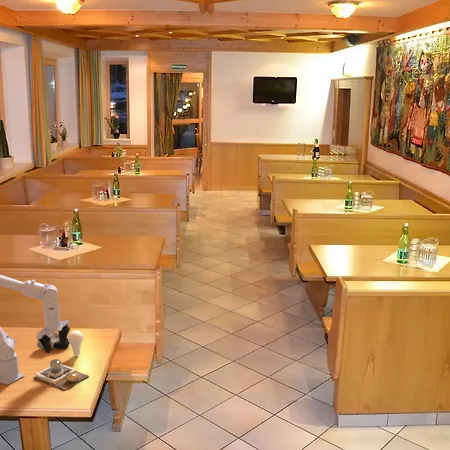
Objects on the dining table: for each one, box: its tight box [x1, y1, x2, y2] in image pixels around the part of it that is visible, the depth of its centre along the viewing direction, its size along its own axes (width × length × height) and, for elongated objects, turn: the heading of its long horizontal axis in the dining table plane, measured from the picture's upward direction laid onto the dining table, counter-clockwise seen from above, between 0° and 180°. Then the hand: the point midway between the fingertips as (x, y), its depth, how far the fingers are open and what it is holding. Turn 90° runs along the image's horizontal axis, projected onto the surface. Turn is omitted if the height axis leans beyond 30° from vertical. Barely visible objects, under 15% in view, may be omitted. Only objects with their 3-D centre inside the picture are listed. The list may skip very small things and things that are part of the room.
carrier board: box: [33, 370, 90, 391], centre depth 220 cm, size 18×12×1 cm
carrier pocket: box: [35, 363, 78, 384], centre depth 222 cm, size 11×11×1 cm
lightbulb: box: [67, 330, 84, 357], centre depth 237 cm, size 6×6×11 cm
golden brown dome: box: [66, 371, 78, 384], centre depth 217 cm, size 4×4×2 cm
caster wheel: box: [36, 331, 70, 351], centre depth 246 cm, size 7×11×10 cm
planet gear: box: [46, 358, 67, 379], centre depth 221 cm, size 8×8×6 cm
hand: (55, 348), depth 224 cm, fingers open, 7 cm apart
